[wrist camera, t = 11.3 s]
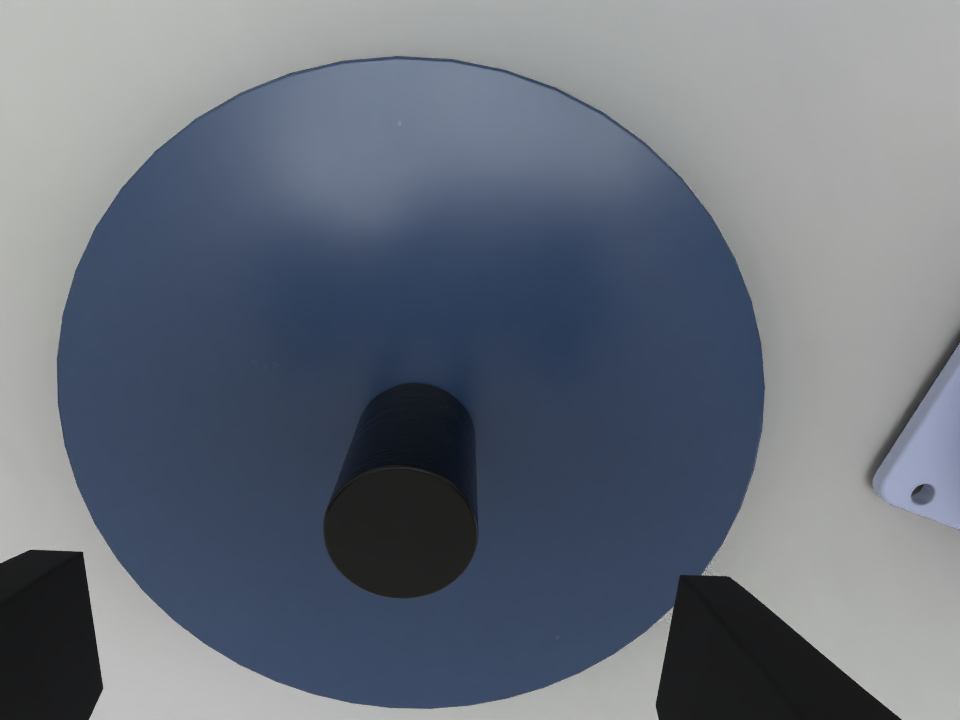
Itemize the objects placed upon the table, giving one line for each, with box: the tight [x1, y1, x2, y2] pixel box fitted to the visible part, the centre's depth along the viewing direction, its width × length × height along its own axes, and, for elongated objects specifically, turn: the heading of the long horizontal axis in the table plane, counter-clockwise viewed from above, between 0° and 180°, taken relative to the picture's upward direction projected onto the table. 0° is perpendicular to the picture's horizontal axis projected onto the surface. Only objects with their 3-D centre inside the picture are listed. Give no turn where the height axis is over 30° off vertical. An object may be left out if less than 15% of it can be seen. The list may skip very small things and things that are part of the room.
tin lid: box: [57, 56, 765, 709], centre depth 12 cm, size 14×14×5 cm
